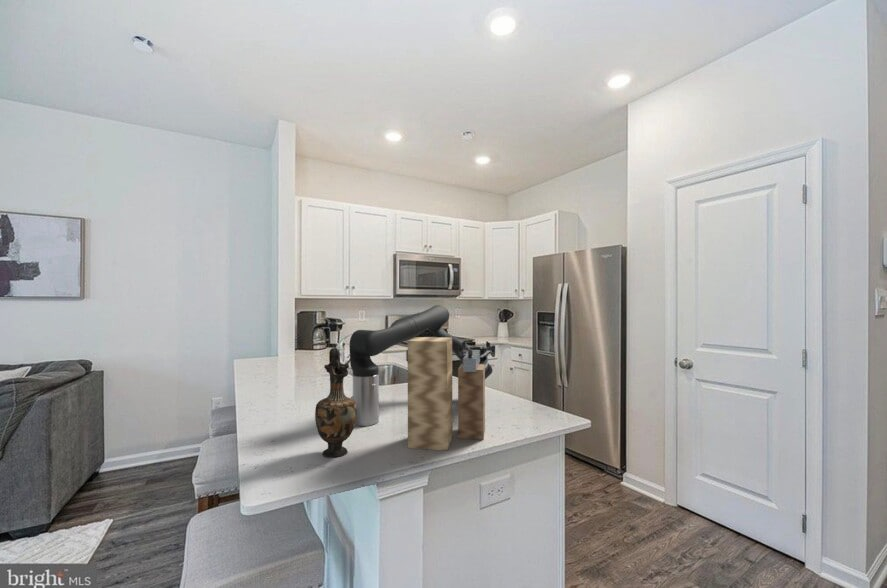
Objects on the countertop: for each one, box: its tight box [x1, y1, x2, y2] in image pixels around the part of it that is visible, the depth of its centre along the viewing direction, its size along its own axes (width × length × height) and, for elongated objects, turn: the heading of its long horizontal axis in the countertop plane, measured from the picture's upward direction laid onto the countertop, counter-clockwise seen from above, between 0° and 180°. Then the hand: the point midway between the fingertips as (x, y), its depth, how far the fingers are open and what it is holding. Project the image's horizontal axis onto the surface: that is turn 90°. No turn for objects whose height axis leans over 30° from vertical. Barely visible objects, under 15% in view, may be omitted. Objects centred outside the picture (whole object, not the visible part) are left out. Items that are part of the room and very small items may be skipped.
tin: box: [462, 349, 480, 372], centre depth 129 cm, size 4×20×6 cm, turn 171°
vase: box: [314, 347, 357, 459], centre depth 112 cm, size 12×12×30 cm
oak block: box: [407, 336, 454, 451], centre depth 120 cm, size 12×11×32 cm
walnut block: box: [457, 363, 486, 441], centre depth 127 cm, size 8×10×22 cm
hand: (475, 343), depth 143 cm, fingers open, 8 cm apart
